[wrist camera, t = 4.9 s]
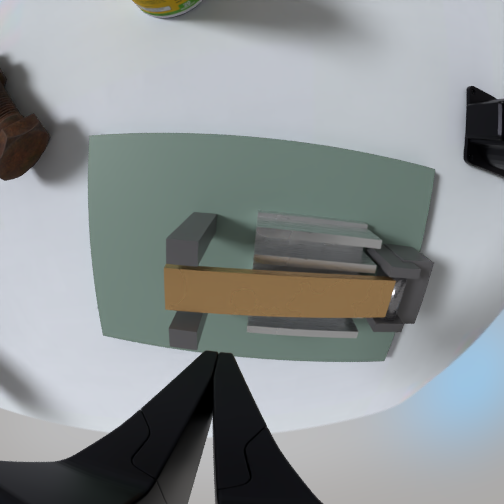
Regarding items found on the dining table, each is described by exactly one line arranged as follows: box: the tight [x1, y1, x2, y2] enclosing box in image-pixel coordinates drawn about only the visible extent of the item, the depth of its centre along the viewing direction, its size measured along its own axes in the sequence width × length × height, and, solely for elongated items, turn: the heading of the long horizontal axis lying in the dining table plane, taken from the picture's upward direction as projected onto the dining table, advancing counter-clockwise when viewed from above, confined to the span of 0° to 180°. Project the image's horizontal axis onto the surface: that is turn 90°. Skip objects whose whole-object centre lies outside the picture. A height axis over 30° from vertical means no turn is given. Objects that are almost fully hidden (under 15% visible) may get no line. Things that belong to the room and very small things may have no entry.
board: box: [88, 133, 435, 362], centre depth 20 cm, size 24×16×1 cm, turn 85°
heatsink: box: [247, 210, 382, 338], centre depth 18 cm, size 7×7×3 cm
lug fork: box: [166, 212, 217, 350], centre depth 17 cm, size 2×6×6 cm, turn 175°
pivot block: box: [365, 244, 434, 332], centre depth 18 cm, size 4×4×4 cm
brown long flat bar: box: [164, 264, 407, 322], centre depth 16 cm, size 14×3×1 cm, turn 85°
